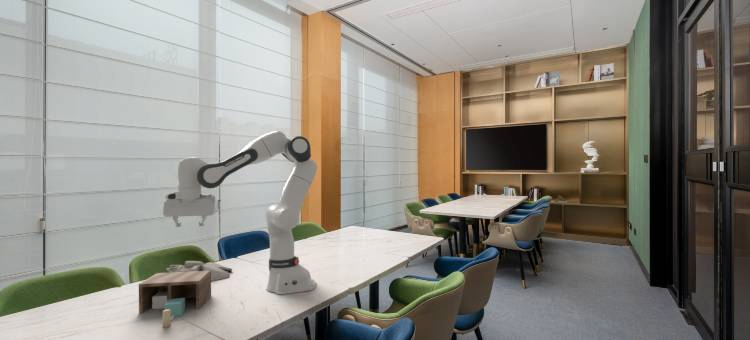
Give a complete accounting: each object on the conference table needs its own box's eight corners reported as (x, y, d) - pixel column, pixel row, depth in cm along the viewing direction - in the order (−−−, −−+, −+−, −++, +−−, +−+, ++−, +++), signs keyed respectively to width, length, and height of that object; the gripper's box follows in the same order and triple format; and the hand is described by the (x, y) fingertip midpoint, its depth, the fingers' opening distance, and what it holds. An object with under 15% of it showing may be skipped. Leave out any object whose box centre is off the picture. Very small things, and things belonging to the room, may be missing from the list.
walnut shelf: (211, 295, 146) (210, 270, 146) (199, 308, 132) (199, 280, 132) (156, 299, 143) (156, 273, 143) (138, 312, 129) (138, 284, 129)
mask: (174, 257, 178) (234, 253, 186) (173, 273, 178) (233, 269, 186) (160, 267, 159) (228, 263, 166) (160, 286, 159) (227, 281, 166)
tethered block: (185, 310, 131) (184, 296, 131) (174, 326, 117) (174, 310, 117) (169, 312, 129) (169, 297, 129) (156, 329, 116) (156, 312, 116)
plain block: (173, 302, 139) (173, 290, 139) (167, 308, 133) (167, 295, 133) (159, 303, 138) (159, 291, 138) (152, 309, 133) (152, 296, 132)
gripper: (217, 193, 148) (217, 224, 148) (168, 194, 145) (168, 225, 145) (212, 194, 142) (213, 226, 142) (161, 195, 139) (161, 228, 139)
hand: (190, 226), depth 144 cm, fingers open, 8 cm apart
